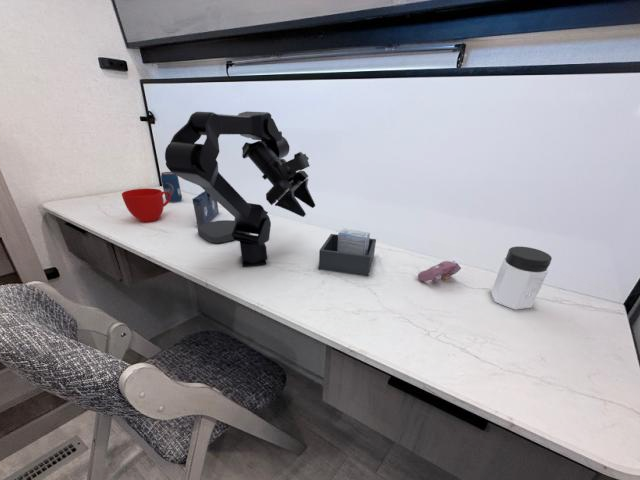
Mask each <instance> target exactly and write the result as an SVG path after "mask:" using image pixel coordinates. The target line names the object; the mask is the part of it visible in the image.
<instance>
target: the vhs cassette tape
mask: <svg viewBox="0 0 640 480" xmlns="http://www.w3.org/2000/svg"><path fill="white" fill-rule="evenodd" d="M218 204H219V203H218V202H217V201H216V200H215V199H214V198H213V197H212V196H211V195H209V194H208V193H207V192H206V191H205V190H204V191H202V192H201V193H199V194H198V195H197V196H194V198H192V205H193V210H194V215H195V220H196V225H197V228H198V227H199V226H201V225H203V224H206V223H209V222H213V220H214V219H215V218H216V217H217V216H218V215H219V213H220V211H219V205H218Z"/></svg>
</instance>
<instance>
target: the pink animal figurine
mask: <svg viewBox="0 0 640 480" xmlns="http://www.w3.org/2000/svg"><path fill="white" fill-rule="evenodd" d="M461 269H462V267H461V266H460V264H459V263H458V262H456V261H455V260H453V261H449V260H444V261H441V262H439V263H438V264H435V265H433V266H430V267H429V268H428V269H426V270H422V271H420V272H419V273H418V274H417V279H418V280H419V281H420V282H429V281H431V282H432V284H435V283H437V282H439V281H440V280H441V281H445V280H448V279H449V278H450V277H452V276H454V275H455V274H457V273H458V272H460V270H461Z"/></svg>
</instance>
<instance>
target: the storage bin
mask: <svg viewBox="0 0 640 480" xmlns="http://www.w3.org/2000/svg"><path fill="white" fill-rule="evenodd" d="M376 242H377V238H370V237H369V246H368V255H360V254H352V253H344V252H337V248H338V234H336V233H330V235H329V236H328V237H327V239H326V240H325V242H324V243H323V245H322V246H321V248H320V249H319V251H318V252H319V253H318V254H319V255H318V270H323V271H328V272H329V271H330V272H336V273H337V272H338V273H345V274H351V275H357V276H364V277H369V275H370V272H371V268H372V264H373V260H374V258H375V251H376V244H377V243H376Z"/></svg>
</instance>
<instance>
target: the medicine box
mask: <svg viewBox="0 0 640 480" xmlns="http://www.w3.org/2000/svg"><path fill="white" fill-rule="evenodd" d="M337 235H338V248H337V252H344V253H352V254H360V255H368V246H369V238H370V237H371V232H369V231H363V230H356V229H349V228H343V229H341V230H340V231H338V234H337Z"/></svg>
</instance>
